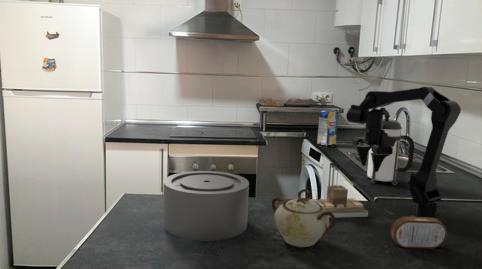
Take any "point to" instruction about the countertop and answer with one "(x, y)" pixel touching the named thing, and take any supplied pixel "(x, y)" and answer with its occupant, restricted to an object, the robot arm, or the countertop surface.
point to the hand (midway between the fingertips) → (369, 168)
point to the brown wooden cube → (337, 194)
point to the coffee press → (390, 162)
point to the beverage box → (327, 127)
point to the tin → (418, 232)
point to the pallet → (340, 205)
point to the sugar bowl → (301, 220)
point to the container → (205, 205)
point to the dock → (350, 213)
